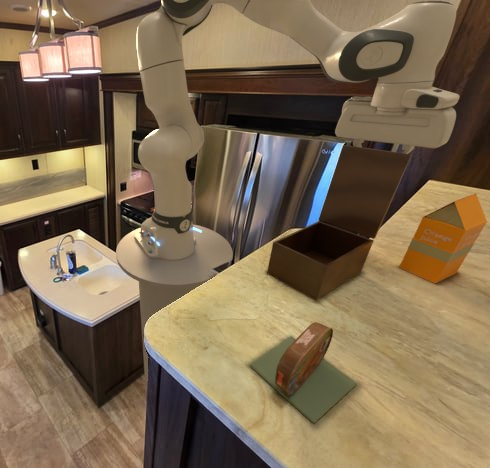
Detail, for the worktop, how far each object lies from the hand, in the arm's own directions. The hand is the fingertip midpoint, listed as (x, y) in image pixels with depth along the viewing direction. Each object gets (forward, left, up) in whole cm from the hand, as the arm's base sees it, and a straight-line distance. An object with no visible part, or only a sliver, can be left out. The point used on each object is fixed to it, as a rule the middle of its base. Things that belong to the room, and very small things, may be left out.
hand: (376, 161), depth 68 cm
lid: (0, -4, -7) cm, 8 cm away
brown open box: (0, -14, -27) cm, 30 cm away
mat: (+16, -44, -27) cm, 54 cm away
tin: (+15, -44, -26) cm, 54 cm away
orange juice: (+15, +9, -27) cm, 32 cm away
